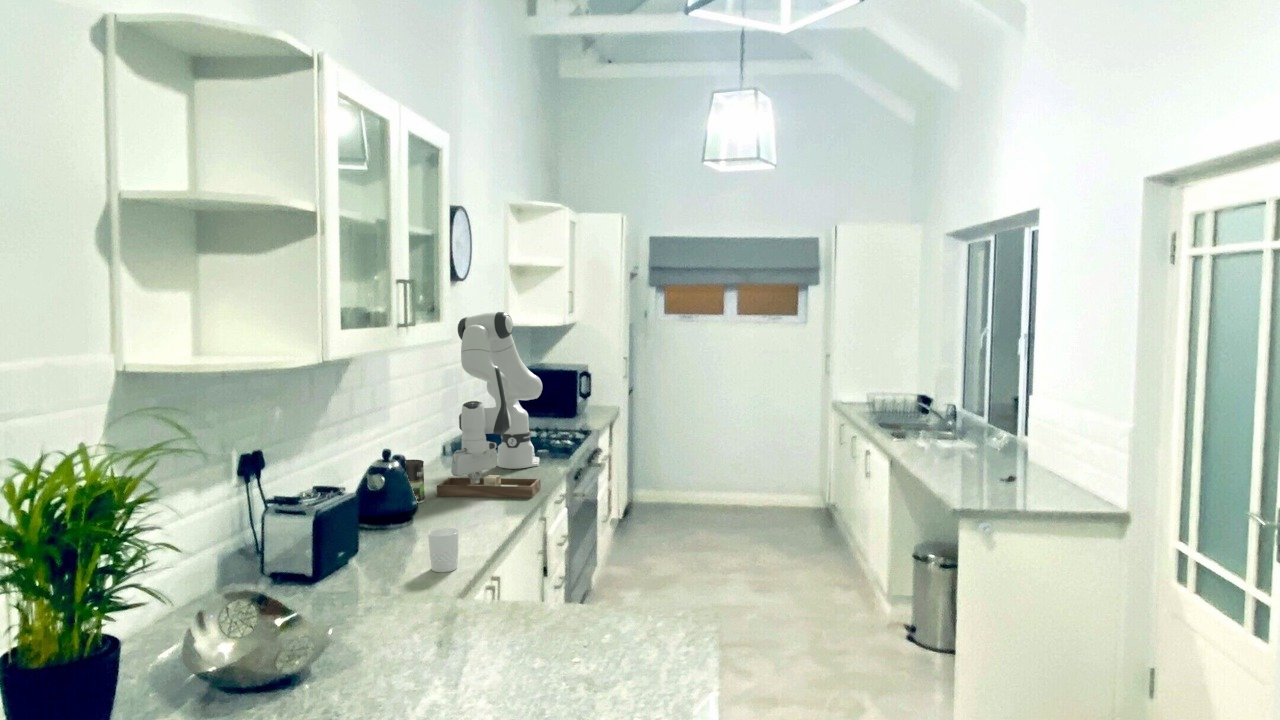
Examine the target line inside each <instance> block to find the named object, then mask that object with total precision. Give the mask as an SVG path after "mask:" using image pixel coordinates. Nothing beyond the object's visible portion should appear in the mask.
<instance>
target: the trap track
mask: <svg viewBox="0 0 1280 720" xmlns="http://www.w3.org/2000/svg"><path fill="white" fill-rule="evenodd" d="M540 491H541V478H511V477H509V478H502V477H501V486H484V477H480V483H478V484H475V485H471V480H470V478H469V477H447V478H446V479H444V480H443V481H441V482H440V483H438V484H436V497H439V498H440V497H444V498H447V497H448V498H449V497H451V498H453V497H454V498H457V497H458V498H506V497H517V498H516V499H524V498H526V499H527V498H528V499H532V498H534V497H535V496H536V495H537V494H538V493H539V492H540Z"/></svg>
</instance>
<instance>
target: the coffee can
mask: <svg viewBox="0 0 1280 720" xmlns="http://www.w3.org/2000/svg"><path fill="white" fill-rule="evenodd" d="M404 460H405V461H406V470H407V475H408V479H409V481H410V483H411V485H412V488H413V491H414V494H415V496H416V498H417V501H418V504H417V505H419V504H423V503H424V502H425V501H426V499H425V472H424V471H425V468H424V467H425V466H424V463H425V462H424V460H422V459H404Z"/></svg>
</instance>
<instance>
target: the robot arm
mask: <svg viewBox="0 0 1280 720" xmlns="http://www.w3.org/2000/svg"><path fill="white" fill-rule="evenodd" d="M513 323H514V322H513V320H512V317H511V316H510V315H509V314H508V313H507V312H504V311H498V312H485V313H481V314H476V315H472V316H466V317H463V318H461V319H460V321H459V322H458V324H457V334H458V337H459V339H460V340H461V347H460V363H461V367H462V369H463V370H464V371H465V372H466V373H467V374H468V375H469V376H471V377H473V378H477V379H479V380H481V381H484V382H486V390H487V392H488V394H489V396H490V397H492V398H493V399H494V401H495V406H494V407H484V403H483V402H481V401H478V400H471V401H467V402H464V403H463V404H462V407H461V413H460V414H459V415H458V423H459V430H461V432H462V433H461V449H456V450H455V451H454V453H453V454H452V459H451V471H450V472H451V475H452V476H453V477H462V476H466V475H467V476H468V477H467V478H470V480H471V485H475V484H478V483H480V478H482V477H481V476H482V474H483V471H487V470H490V469H494V468H496V467H498V468H501V469H511V470H513V469H515V470H516V469H525V468H531V467H532V468H533V467H539V465H540V457H539V456H536V454H535V447H534V445H533V443H532V441H531V430H530V429H529V428H530V427H529V425H530V423H529V413H528V411H527V410H526V409H524V408H523V407H522V405H521V404H520V402H519V401H530V400H535V399H536V400H537V399H538V398H539V397H540V396H541V394H542V391H543V382H542V380H541V378H540V377H539V376H538V375H536V374H534V373H533V372H532V371H531V370H530V369H528V367H527V366H526V365H525V363H524V362H523V361H522V359H521V357H520V355H519V351H518V350H517V347H516V344H515V341H514V338H513V335H512V333H513V329H514V325H513ZM486 434H488V435H489V434H492V435H493V434H494V435H500V439H501V443H500V444H499V445H497V443H496V442H493V441H489V440H487V435H486ZM496 448H497V449H496Z"/></svg>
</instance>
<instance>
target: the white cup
mask: <svg viewBox="0 0 1280 720" xmlns="http://www.w3.org/2000/svg"><path fill="white" fill-rule="evenodd" d="M427 534H428V535H427V536H428V537H427V538H428V549H429V557H430V566H431V570H432V571H433V572H435V573H449V572H452V571H455V570H457V569H458V557H459V536H460V535H459V529H457V528H453V527H441V528H434V529H432V530H430V531H428V533H427Z"/></svg>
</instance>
